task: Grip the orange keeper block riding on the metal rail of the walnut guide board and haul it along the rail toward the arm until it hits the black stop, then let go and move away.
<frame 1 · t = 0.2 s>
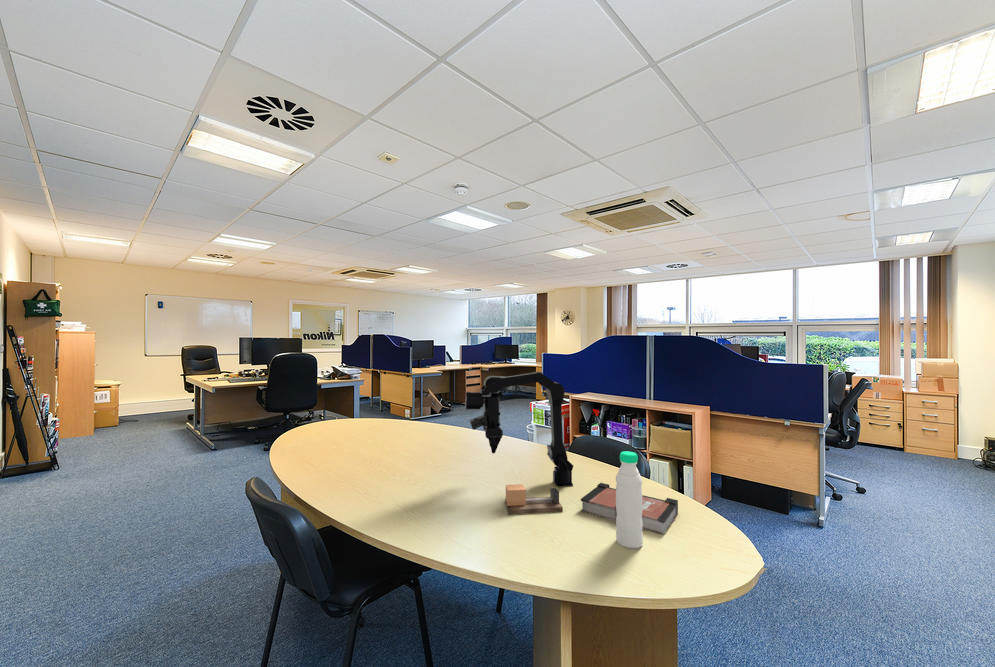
hand: (492, 449, 151), 14 cm above the table, tool pointing down, fingers open, 9 cm apart
guide board: (533, 507, 133), on the table
guide rail: (533, 496, 133), on the guide board, point 4 cm above the table
book: (628, 515, 128), on the table
keeper: (515, 494, 132), point 4 cm above the table, slide at 0.0 cm
water bottle: (629, 543, 109), on the table
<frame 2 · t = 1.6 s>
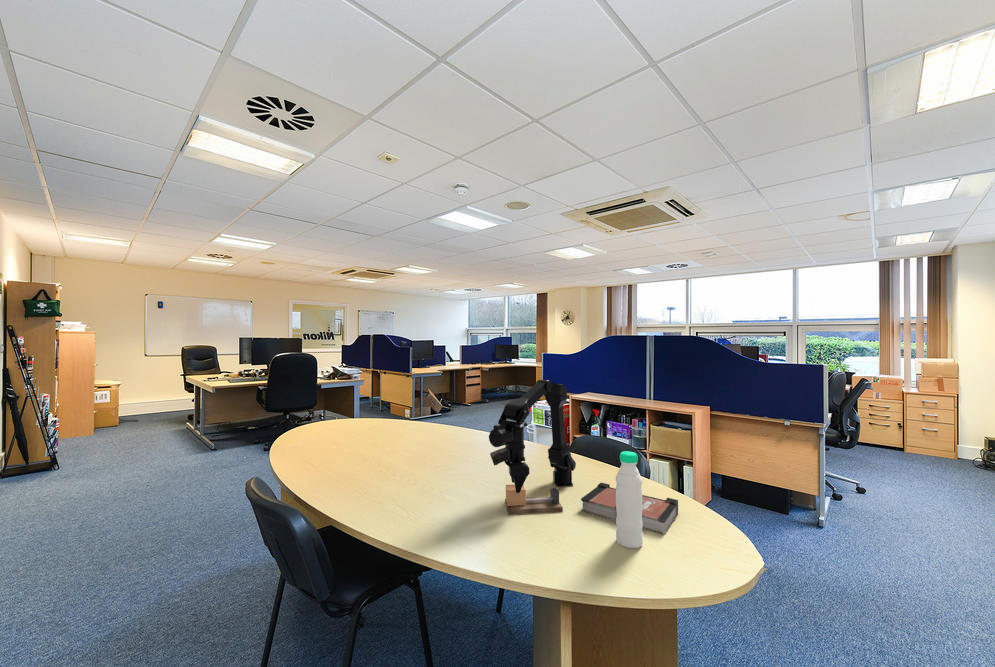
hand: (515, 487, 132), 7 cm above the table, tool pointing down, fingers open, 9 cm apart
nothing on the table moved.
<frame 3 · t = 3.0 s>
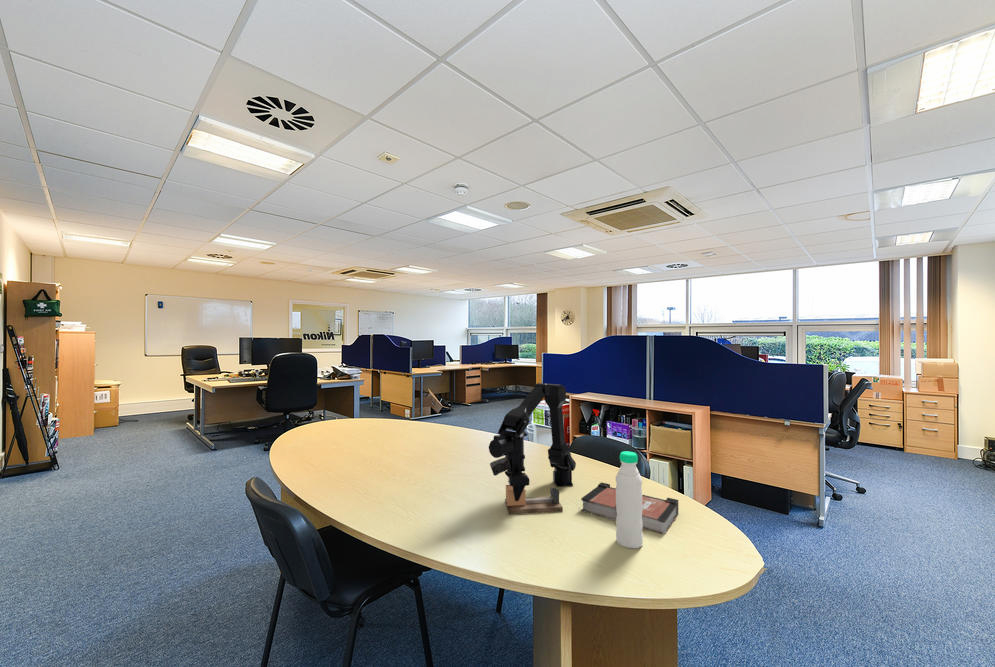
hand: (515, 497, 132), 4 cm above the table, tool pointing down, fingers closed on keeper, 5 cm apart
keeper: (515, 494, 132), point 4 cm above the table, slide at 0.0 cm, touching gripper
everything else where it was.
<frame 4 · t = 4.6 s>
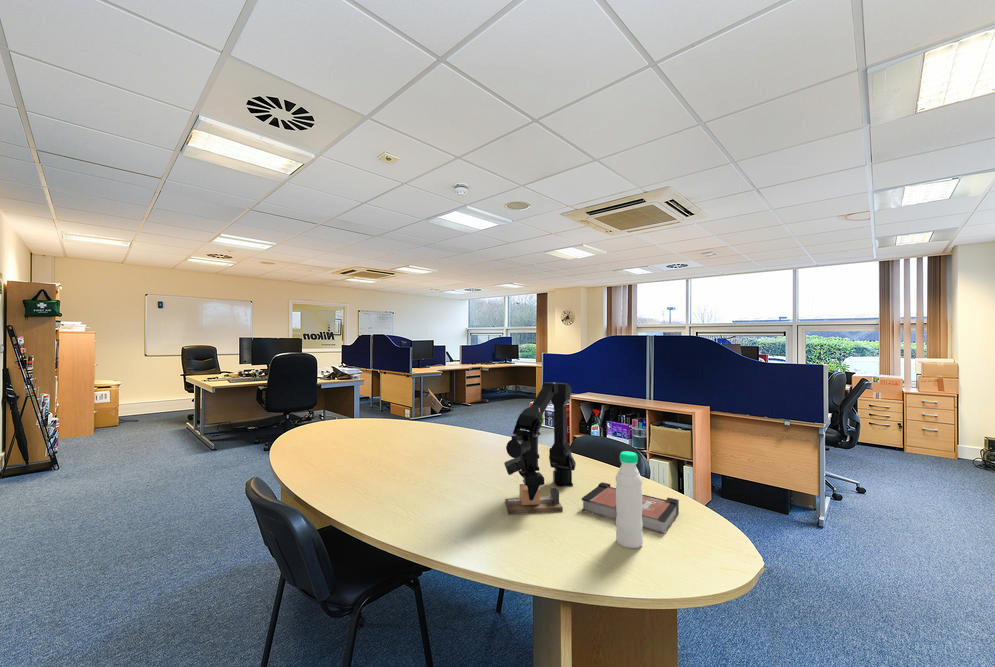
hand: (529, 497, 133), 4 cm above the table, tool pointing down, fingers closed on keeper, 5 cm apart
keeper: (529, 494, 133), point 4 cm above the table, slide at 4.8 cm, touching gripper
everything else where it was.
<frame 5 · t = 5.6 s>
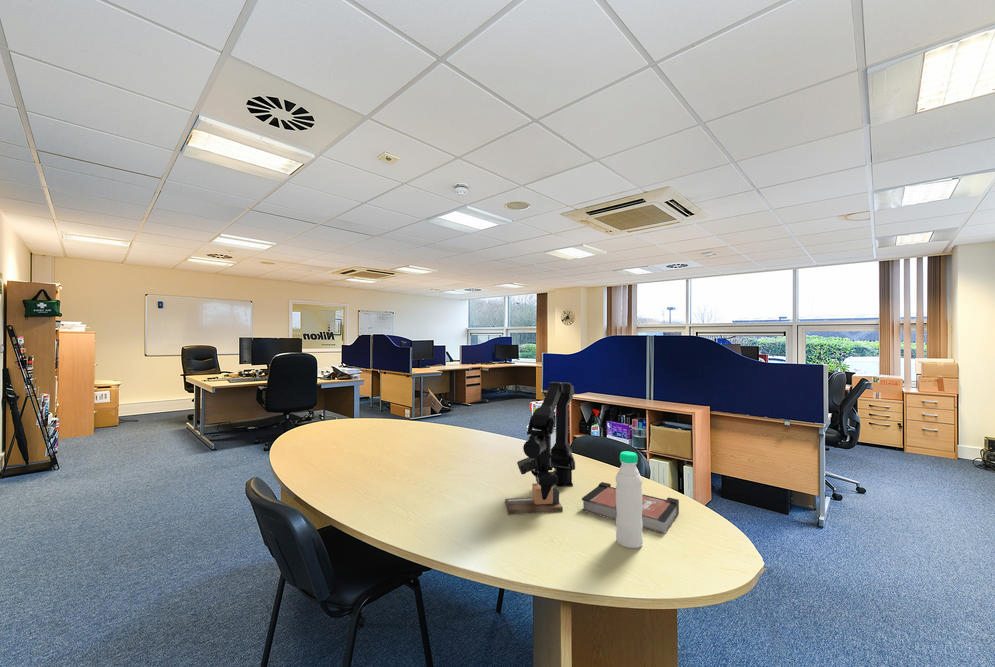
hand: (542, 496, 133), 3 cm above the table, tool pointing down, fingers closed on keeper, 5 cm apart
keeper: (542, 493, 133), point 4 cm above the table, slide at 9.3 cm, touching gripper
everything else where it was.
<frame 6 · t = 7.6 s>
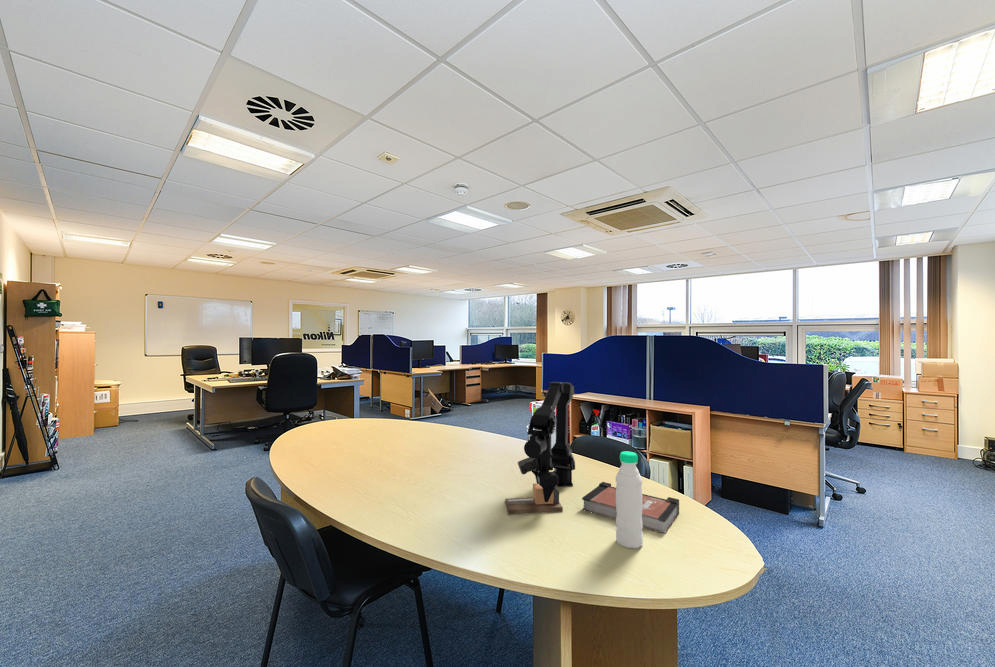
hand: (543, 496, 133), 4 cm above the table, tool pointing down, fingers open, 9 cm apart
keeper: (543, 493, 133), point 4 cm above the table, slide at 9.4 cm
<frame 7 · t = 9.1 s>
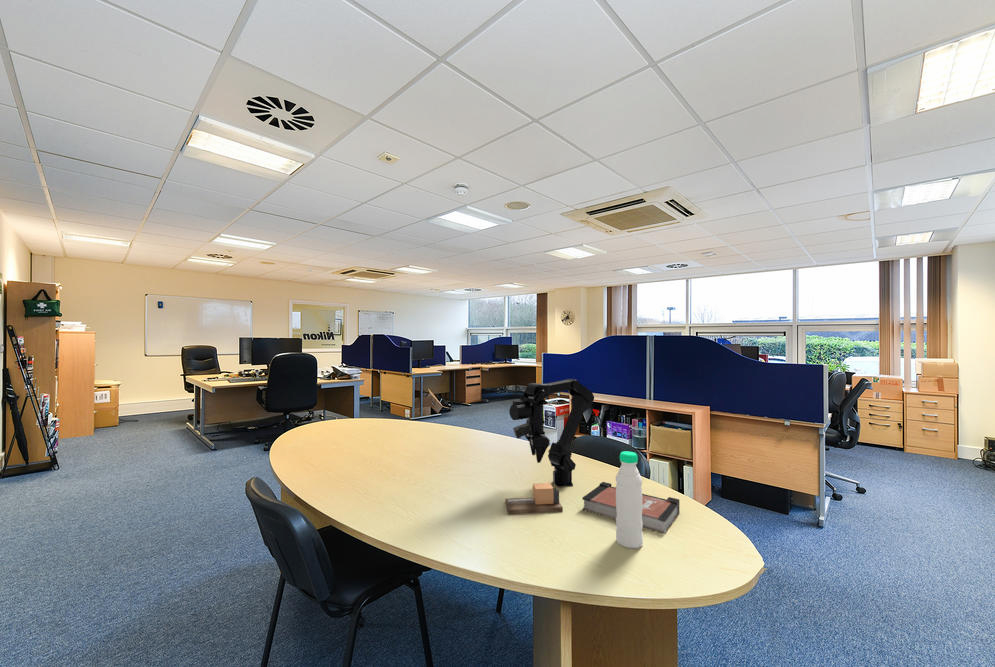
hand: (536, 458, 147), 12 cm above the table, tool pointing down, fingers open, 9 cm apart
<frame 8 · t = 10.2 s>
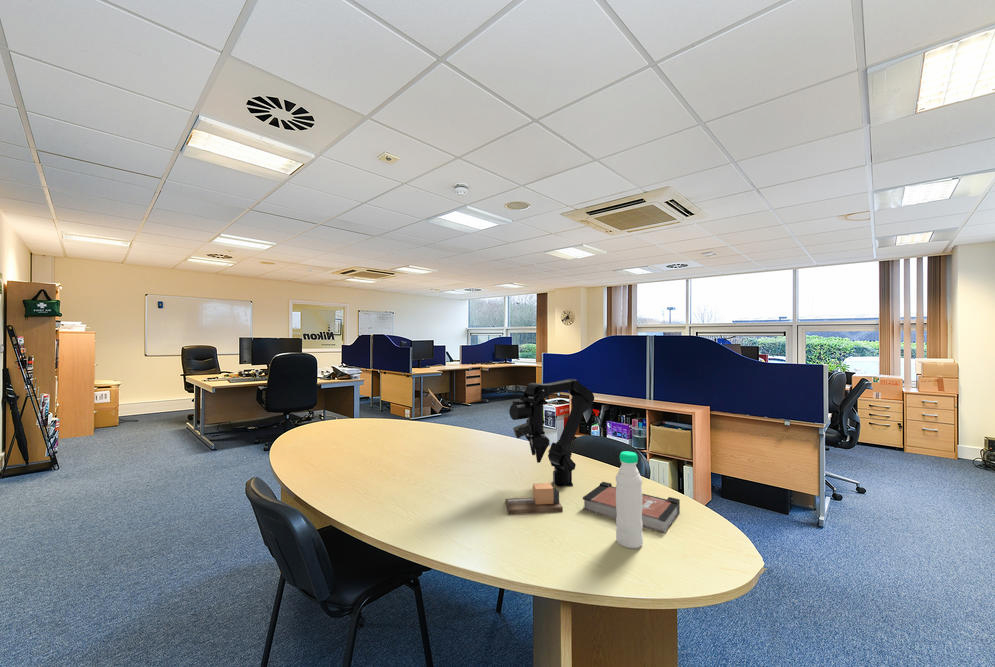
hand: (535, 458, 147), 12 cm above the table, tool pointing down, fingers open, 9 cm apart
at the end: keeper slide at 9.4 cm; the gripper is holding nothing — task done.
